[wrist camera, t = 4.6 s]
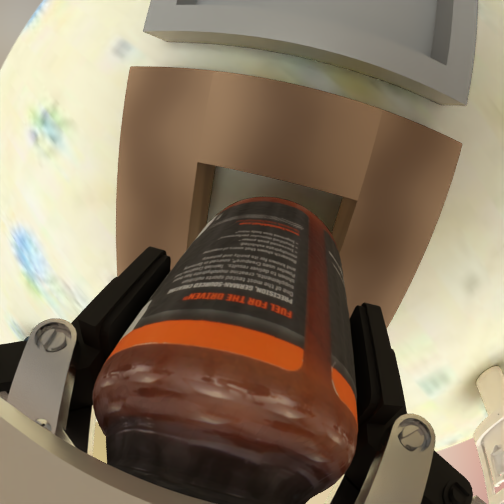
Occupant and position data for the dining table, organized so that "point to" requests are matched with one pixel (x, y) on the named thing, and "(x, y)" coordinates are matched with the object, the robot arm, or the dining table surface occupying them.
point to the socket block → (280, 169)
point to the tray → (341, 36)
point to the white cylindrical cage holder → (492, 432)
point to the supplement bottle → (239, 365)
